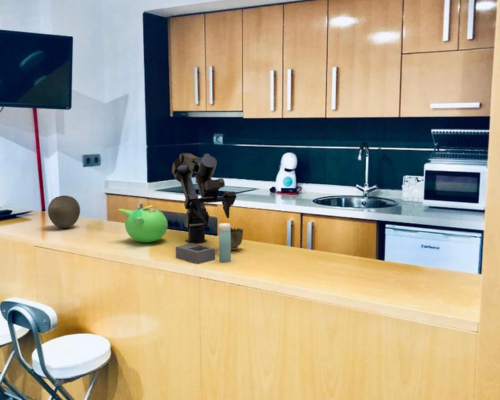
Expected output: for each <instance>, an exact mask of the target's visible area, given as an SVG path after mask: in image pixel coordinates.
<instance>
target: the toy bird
mask: <svg viewBox="0 0 500 400" xmlns="http://www.w3.org/2000/svg"><path fill="white" fill-rule="evenodd" d="M153 206H154V204H152V205H147V206H144V207H139V208H136V209H135V210H131V209H125V208H118V209H117V211H118V212H119V213H121V214H122V215H124V216H126V218H125V221H124V226H125V227H124V228H125V231H126V233H127V234H128V236H129V237H131V239H133V240H135V241H137V242H139V243H152V242H156V241H158V240H160V239H162V238H163V237H164V236H165V235H166V233H167V231H168V226H169V224H168V219H167V218H166V216H165V215H164V213H163V212H162V211H160V210H158V209H156V208H153Z"/></svg>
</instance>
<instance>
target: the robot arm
mask: <svg viewBox="0 0 500 400" xmlns="http://www.w3.org/2000/svg"><path fill="white" fill-rule="evenodd" d="M217 164H218V160H217V159H216V158H215V157H214V156H211V155H210V153H203V156H202V157H198V156H196V155H193V153H190V152H183V153H180V154H179V156H178V157H177V158H176V159H175V160H174V161H173V163H172V167H171V173H172V175H173V176H174V179H175V180H176V181H177V182H179V183H180V185H181V188H182V192H183V195H184V198H185V199H184V202H183V206H184V208H185V210H186V214H185V217H184V220H183V223H184V227H185V228H187V229H188V231H187V233H188V235H187V236H188V237H187V238H188V239H185V242H187V243H195V244H200V243H201V244H202V243H204V242H208V239H206V238H205V237H206V234H205V233H206V232H205V227H209V219H210V218H209V217H210V214H209V212H208V211H207V208H206V204H212V203H221V205H222V208H223V212H224V214H225V216H226V219H230V211H231V210H230V209H231V206H232V207H233V205H234V203H235V201H236V200H237V194H236V192H235V191H224V192H223V195H221V196H218V195H219V194H220V191H219V190H220V189H221V188H222V189H223V188H224V187H225V186H226V183H225V180H224V178H223V177H221V178H220V177H218V178H217V179H212V176H214V173H215V170H216V167H217ZM193 174H195V175H194V178H195V183H196V185H197V188H198V194H197V192H196V189H195V187H194V183H193V180H192V176H193ZM199 195H200V196H199ZM205 203H206V204H205Z"/></svg>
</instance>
